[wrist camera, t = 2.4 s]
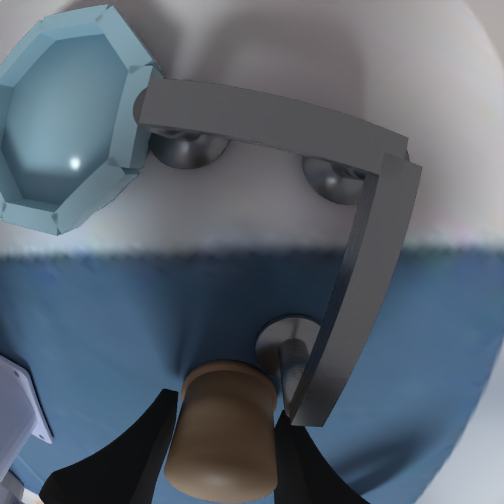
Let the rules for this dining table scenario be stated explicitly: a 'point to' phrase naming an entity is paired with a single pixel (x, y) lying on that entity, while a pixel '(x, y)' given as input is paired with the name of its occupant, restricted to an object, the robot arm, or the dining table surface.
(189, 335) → the dining table surface
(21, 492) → the potted plant
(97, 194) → the dish
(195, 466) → the cylinder
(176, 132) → the bent rail
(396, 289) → the dining table surface
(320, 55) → the dining table surface
